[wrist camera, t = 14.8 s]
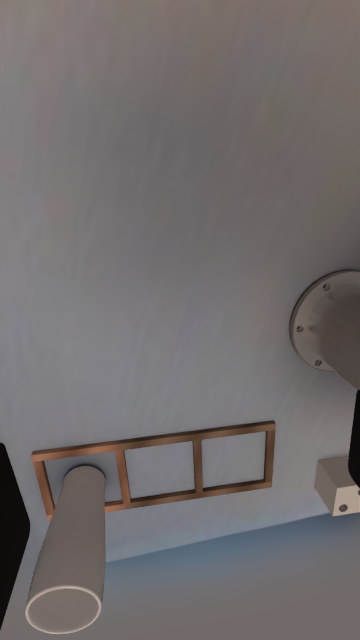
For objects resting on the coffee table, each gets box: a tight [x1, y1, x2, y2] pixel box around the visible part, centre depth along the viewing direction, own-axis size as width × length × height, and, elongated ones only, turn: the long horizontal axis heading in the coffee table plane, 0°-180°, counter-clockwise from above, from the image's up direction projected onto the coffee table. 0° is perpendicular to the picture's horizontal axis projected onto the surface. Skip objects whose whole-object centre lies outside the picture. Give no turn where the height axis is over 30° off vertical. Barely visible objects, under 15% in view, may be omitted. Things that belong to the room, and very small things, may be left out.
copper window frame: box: [31, 421, 276, 521], centre depth 45 cm, size 31×11×1 cm, turn 93°
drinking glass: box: [25, 466, 106, 634], centre depth 37 cm, size 7×7×15 cm
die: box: [314, 456, 360, 516], centre depth 47 cm, size 5×5×5 cm
